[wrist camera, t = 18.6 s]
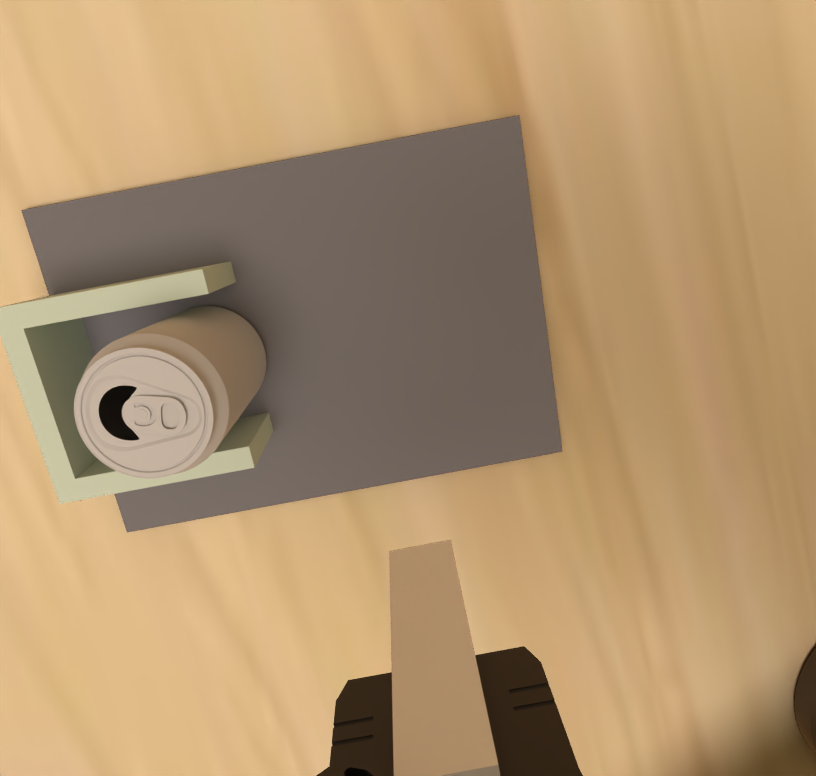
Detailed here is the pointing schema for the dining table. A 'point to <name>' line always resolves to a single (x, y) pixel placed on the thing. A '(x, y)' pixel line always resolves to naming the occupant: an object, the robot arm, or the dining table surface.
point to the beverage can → (169, 391)
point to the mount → (308, 318)
